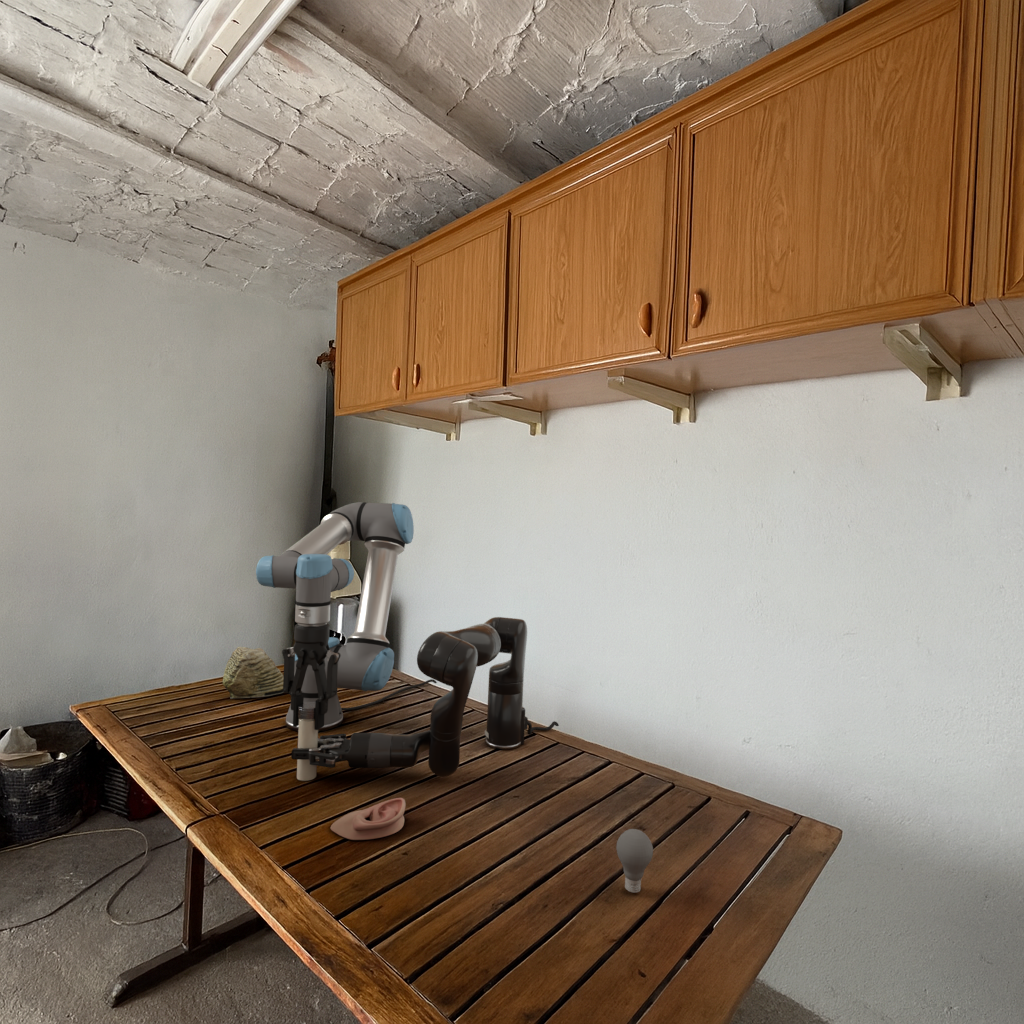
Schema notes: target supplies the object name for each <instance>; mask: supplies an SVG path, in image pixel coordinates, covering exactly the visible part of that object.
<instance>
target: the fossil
mask: <svg viewBox="0 0 1024 1024" xmlns="http://www.w3.org/2000/svg"><path fill="white" fill-rule="evenodd" d="M222 676H223V677H222V685H223V687H224V688H225V690H226V691H228V693H229V698H230V699H250V698H264V697H271V696H275V695H281V694H284V692H283V677H284V674H283V672H281V669H279V668H278V667H277V665H276V663H275V662H274V660H273V659H272V658H271V657H270V656H269V655H268V654H267V653H266V652H265V650H264V649H263V648H260V647H258V648H251V647H247V646H246V647H245V646H238V647H237V648H236V649H235V650H233V651H232V653H231V656H230V657H229V659H228V660H227V663H226V666H225V668H224V671H223V675H222Z"/></svg>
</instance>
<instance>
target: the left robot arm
mask: <svg viewBox="0 0 1024 1024" xmlns="http://www.w3.org/2000/svg"><path fill="white" fill-rule="evenodd" d="M414 527H415V525H414V519H413V514H412V512H411V509H410V507H408V505H406V504H402V503H395V502H392V503H389V502H387V503H386V502H366V501H358V502H352V503H348V504H345V505H343V506H340V507H338V508H336V509H334V510H332V511H331V512H329V513H328V514H326V515H325V516H324V517H323V518H322V519H321V521H320V524H319V525H317V526H316V527H315V528H314V529H312V530H311V531H309V532H308V533H307V534H306V535H304V536H303V537H302V538H300V539H299V540H298V541H297V542H295V543H294V544H292V545H291V546H289V547H288V548H287V549H286V550H284V551H283V552H282V553H281V554H279V555H274V554H273V555H264V556H262V557H260V559H259V560H258V562H257V564H256V567H255V575H256V581H257V582H258V584H259V585H260V586H263V587H267V588H268V587H269V588H273V589H276V588H277V589H295V611H294V622H295V623H296V624H295V625H294V631H293V632H294V634H293V639H294V644H293V646H289V647H287V648H284V649H282V650H281V653H282V658H283V676H284V677H283V694H288V695H290V704H289V708H288V711H287V713H286V715H285V726H286V728H287V729H289V730H291V731H294V732H295V731H296V732H298V726H299V718H298V705H299V704H301V703H305V702H315V729H314V730H318V732H325V731H329V730H332V729H335V728H337V727H339V726H340V725H342V723H343V722H344V714H343V711H344V712H345V711H349V712H350V711H355V710H359V709H364V708H367V707H370V706H371V707H372V706H374V705H377V704H379V703H381V702H383V701H385V700H387V699H390V698H391V697H394V696H396V695H397V694H400V693H402V692H405V691H408V690H411V689H415V688H418V687H422V686H425V685H428V684H430V683H434V684H437V683H438V681H437V680H435V679H432V678H430V679H428V680H425V681H423V682H420V683H416V684H413V685H409V686H406V687H404V688H400V689H398V690H396V691H394V692H392V693H390V694H387V695H386V696H383V697H381V698H379V699H377V700H375V701H372V702H368V703H364V704H361V705H357V706H352V707H351V706H350V707H342V706H341V702H340V699H339V695H338V689H345V690H356V691H363V692H368V691H370V692H377V691H378V692H379V691H381V690H382V689H384V687H385V686H386V685H387V684H388V682H389V680H390V678H391V675H392V673H393V670H394V664H395V652H394V650H393V649H392V648H391V647H390V641H389V639H388V638H387V637H386V632H387V628H388V627H387V626H388V620H389V613H390V608H391V602H392V596H393V595H392V594H393V591H394V590H393V588H394V583H395V577H396V570H397V564H398V557H399V556H400V554H402V553H403V552H405V548H406V545H409V544H411V543H412V542H413V539H414V532H415V530H414ZM350 541H351V542H355V541H359V542H364V544H363V545H364V547H365V549H367V552H368V553H367V558H366V565H365V569H364V575H363V580H362V586H361V591H360V596H359V597H360V598H359V604H358V609H357V615H356V621H355V625H354V626H355V627H354V632H352V633H351V634H350V635H349V636H348V637H347V639H346V644H341V641H340V639H339V638H338V637H334V636H331V637H330V627H331V626H330V624H329V622H330V621H331V598H332V593H333V592H336V591H337V592H338V591H341V590H343V589H345V588H346V587H348V586H349V585H350V584H352V582H353V580H354V577H355V570H354V567H353V564H351V562H350V561H348V560H347V559H345V558H336V557H333V558H332V556H331V555H330V553H331V552H332V551H333V550H334V549H335V548H336V547H338V546H341V545H344V544H346V543H347V542H350Z"/></svg>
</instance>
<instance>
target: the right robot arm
mask: <svg viewBox="0 0 1024 1024" xmlns="http://www.w3.org/2000/svg"><path fill="white" fill-rule="evenodd" d="M527 643H528V625H527V622H526V621H525V620H524V619H522V618H513V617H503V616H495V617H491V618H489V619H488V620H486V621H485V622H484V623H479V624H478V623H477V624H474V625H470V626H468V627H465V628H460V629H456V630H449V631H447V630H446V631H445V630H438V631H436V632H433V633H432V634H430V635H429V636H428V637H427V638H426V639H425V640H424V641H423V642H422V644H421V645H420V647H419V648H418V649H419V650H418V652H417V656H416V664H417V667H418V670H419V671H420V672H421V673H422V674H423V675H424V676H426V677H428V678H430V679H433V680H435V681H436V682H439V683H441V684H444V685H446V686H449V687H451V688H452V689H450V691H448V692H447V693H446V694H444V695H442V696H441V697H440V698H438V699H437V700H436V702H435V703H434V705H433V707H432V709H431V711H430V720H429V721H430V722H429V723H430V724H429V727H430V728H429V729H428V730H425V731H420V732H417V733H416V732H415V733H412V734H391V733H386V732H352V734H351V736H350V738H349V739H348V738H347V734H346V733H336V734H326V735H319V737H318V748H311V749H310V748H298V743H297V745H296V746H297V747H294V748H292V750H291V757H290V758H291V759H292V760H297V759H309V761H310V765H316V766H317V767H323V768H329V769H330V768H331V769H333V768H334V769H335V768H336V763H341V762H348V763H347V764H348V767H349V768H350V769H385V768H413V767H415V766H416V765H417V762H418V761H419V757H420V755H421V753H422V754H423V752H426V751H428V760H427V763H428V768H429V770H430V771H431V773H432V774H434V775H436V776H437V777H442V778H445V777H449V776H451V775H453V774H454V773H455V772H456V771H457V770H458V768H459V766H460V757H461V754H460V753H461V736H462V732H463V721H464V713H465V712H464V711H465V708H466V704H467V701H468V698H469V695H470V692H471V689H472V685H473V681H474V677H475V674H476V670H477V668H479V667H482V666H484V665H486V664H488V663H490V662H492V661H493V660H495V659H496V657H497V656H498V655H499V653H501V654H509V655H510V658H509V660H506V661H504V662H499V663H496V664H494V665H492V666H491V667H489V669H488V684H487V685H488V686H487V687H488V688H487V710H486V711H487V712H486V729H484V735H485V744H486V745H487V746H488V747H490V748H492V749H495V750H503V751H504V750H507V751H508V750H513V749H517V748H519V747H521V746H522V745H525V730H527V734H528V735H532V733H533V732H534V731H540V732H547V731H551V730H552V729H553V728H554V727H559V726H560V725H559V723H558V722H557V721H555V720H554V721H552V722H551V723H550V724H549V725H548V726H545V727H542V726H533V725H532V723H531V722H530V721H529V718H528V717H527V716H526V708H525V707H524V705H523V702H524V678H525V666H526V654H527V653H526V652H527V651H526V650H527Z"/></svg>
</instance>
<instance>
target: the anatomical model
mask: <svg viewBox="0 0 1024 1024" xmlns="http://www.w3.org/2000/svg"><path fill="white" fill-rule="evenodd" d="M406 807H407V804H406V799H405V798H403V797H396V798H391V799H388V800H385V801H382V802H378V803H376V804H374V805H372V806H370V807H367V808H364V809H360V810H355V811H351V812H348V813H347V814H344V815H343V816H341V817H340V818H338V819H336V820H335V821H334V822H333V823H332V824H331V825H330V830H331V832H333V833H335V834H337V835H338V836H339V837H342V838H344V839H346V840H351V841H365V840H374V839H380V838H384V837H388V836H391V835H394V834H395V833H397V832H399V831H400V830H402V829H403V828H404V825H405V816H404V814H405V812H406V811H405V810H406Z"/></svg>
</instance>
